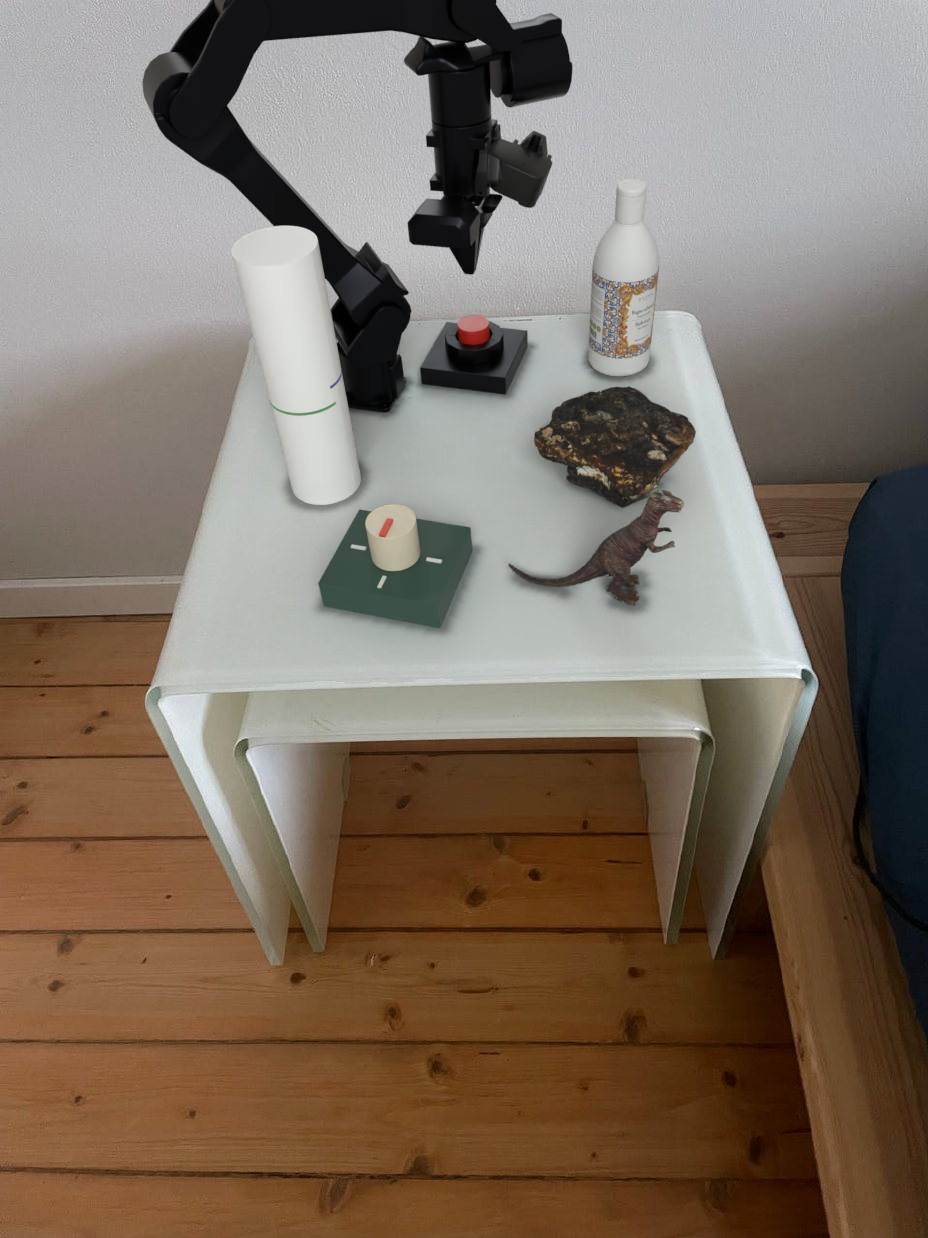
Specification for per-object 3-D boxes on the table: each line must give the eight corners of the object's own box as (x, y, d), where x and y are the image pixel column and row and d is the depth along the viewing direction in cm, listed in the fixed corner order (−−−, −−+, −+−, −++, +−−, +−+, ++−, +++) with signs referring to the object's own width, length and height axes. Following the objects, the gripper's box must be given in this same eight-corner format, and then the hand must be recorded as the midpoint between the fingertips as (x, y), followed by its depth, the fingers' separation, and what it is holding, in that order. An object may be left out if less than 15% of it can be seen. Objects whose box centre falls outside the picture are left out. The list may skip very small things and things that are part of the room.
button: (454, 343, 103) (453, 329, 102) (463, 327, 105) (462, 313, 104) (484, 347, 102) (484, 333, 101) (493, 330, 104) (493, 316, 103)
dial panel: (323, 606, 82) (317, 581, 79) (363, 532, 88) (358, 507, 86) (439, 628, 79) (436, 603, 77) (472, 550, 86) (470, 525, 83)
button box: (421, 384, 104) (418, 353, 101) (447, 337, 111) (445, 307, 108) (505, 394, 102) (504, 363, 99) (527, 346, 108) (527, 316, 105)
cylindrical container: (373, 469, 95) (333, 232, 76) (338, 511, 90) (288, 272, 72) (314, 454, 97) (262, 220, 78) (278, 495, 93) (214, 258, 74)
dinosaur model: (685, 502, 70) (494, 499, 73) (676, 610, 79) (505, 604, 82) (684, 471, 73) (501, 469, 76) (677, 579, 81) (511, 574, 84)
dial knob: (381, 533, 83) (375, 497, 80) (426, 541, 82) (422, 505, 79) (364, 567, 81) (357, 531, 77) (411, 575, 80) (406, 538, 76)
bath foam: (614, 385, 102) (627, 206, 87) (575, 359, 106) (582, 183, 91) (661, 364, 104) (682, 185, 89) (622, 338, 108) (635, 163, 93)
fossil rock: (594, 409, 99) (597, 362, 95) (706, 457, 93) (714, 409, 88) (515, 476, 92) (513, 429, 88) (629, 532, 86) (634, 485, 82)
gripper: (519, 161, 79) (521, 325, 90) (566, 84, 90) (562, 238, 102) (397, 153, 81) (414, 314, 93) (459, 80, 93) (467, 231, 104)
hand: (469, 272), depth 98 cm, fingers closed
